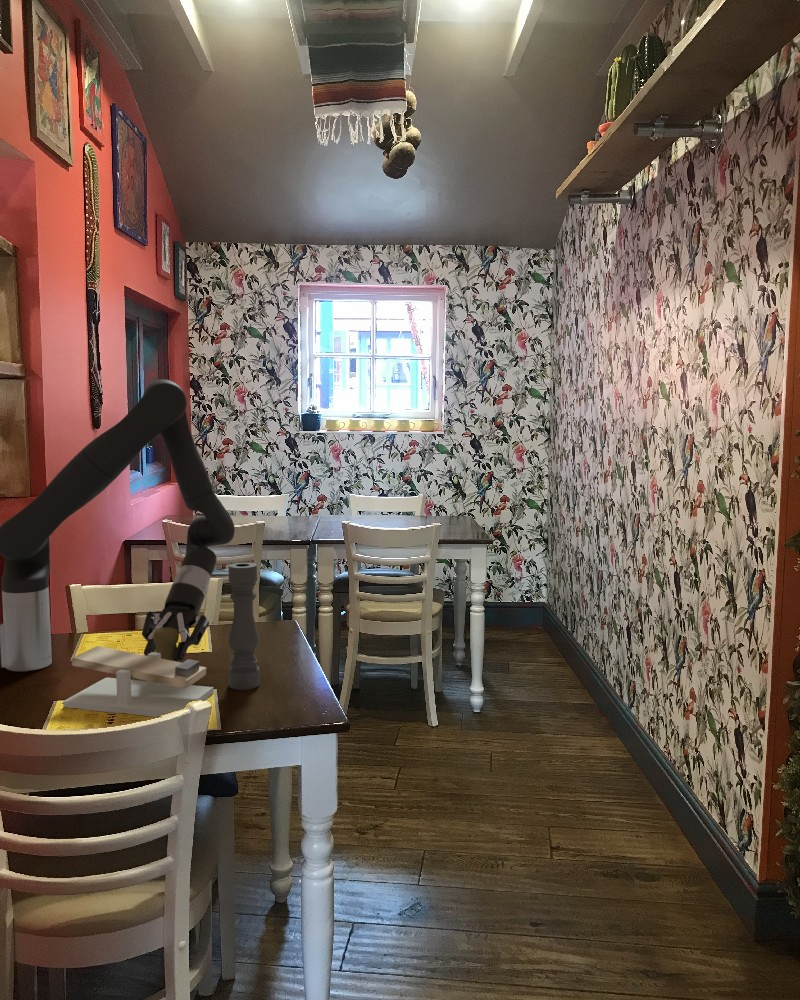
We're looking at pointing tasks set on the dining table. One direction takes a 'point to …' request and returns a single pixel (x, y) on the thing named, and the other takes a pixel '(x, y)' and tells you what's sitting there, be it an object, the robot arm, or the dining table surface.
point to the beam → (141, 666)
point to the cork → (166, 642)
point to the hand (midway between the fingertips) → (162, 659)
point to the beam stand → (136, 695)
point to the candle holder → (243, 628)
